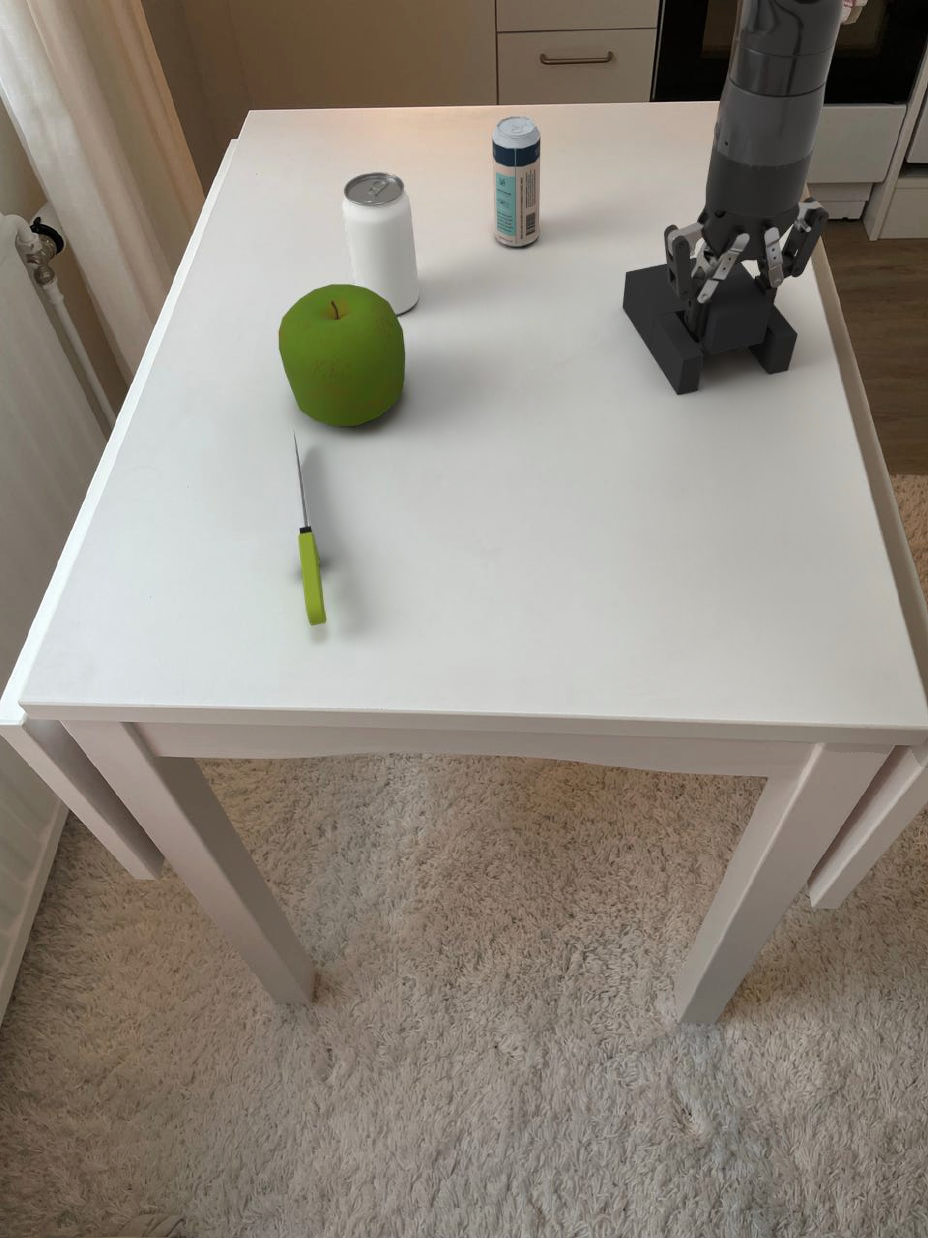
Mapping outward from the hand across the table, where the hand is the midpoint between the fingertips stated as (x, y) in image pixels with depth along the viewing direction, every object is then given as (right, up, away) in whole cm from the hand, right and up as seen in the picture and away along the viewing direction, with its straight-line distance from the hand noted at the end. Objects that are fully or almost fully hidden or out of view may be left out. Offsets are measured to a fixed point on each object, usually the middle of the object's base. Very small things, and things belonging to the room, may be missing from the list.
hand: (726, 323), depth 86 cm
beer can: (-18, +15, +17) cm, 29 cm away
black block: (0, -1, +1) cm, 1 cm away
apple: (-34, -6, +3) cm, 35 cm away
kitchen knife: (-37, -20, -7) cm, 42 cm away
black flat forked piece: (-1, 0, +6) cm, 6 cm away
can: (-32, +6, +12) cm, 34 cm away
